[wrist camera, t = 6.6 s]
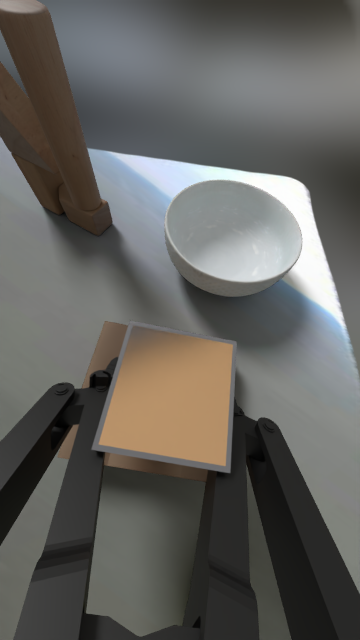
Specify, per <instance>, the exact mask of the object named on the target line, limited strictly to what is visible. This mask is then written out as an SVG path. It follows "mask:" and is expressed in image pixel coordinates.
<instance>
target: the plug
mask: <svg viewBox="0 0 360 640" xmlns="http://www.w3.org/2000/svg"><path fill="white" fill-rule="evenodd" d="M236 350H237V341H232V340H227V339H222V338H217V337H212V336H207V335H201V334H196V333H191V332H186V331H181V330H176V329H171V328H166V327H161V326H156V325H151V324H146V323H141V322H136V321H131V320H130V321H129V324H128V328H127V331H126V334H125V338H124V341H123V345H122V348H121V351H120V355H119V358H118V361H117V365H116V368H115V372H114V375H113V378H112V382H111V385H110V388H109V392H108V395H107V399H106V402H105V405H104V409H103V412H102V415H101V419H100V422H99V426H98V429H97V432H96V436H95V439H94V442H93V446H92V449H91V450H96V451H102V452H108V453H114V454H120V455H126V456H132V457H137V458H143V459H149V460H155V461H161V462H167V463H173V464H179V465H185V466H190V467H196V468H202V469H208V470H214V471H220V472H226V473H230V469H231V449H232V429H233V409H234V389H235V370H236Z"/></svg>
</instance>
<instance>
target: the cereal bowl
mask: <svg viewBox="0 0 360 640" xmlns="http://www.w3.org/2000/svg"><path fill="white" fill-rule="evenodd" d="M164 227H165V231H164V232H165V240H166V246H167V250H168V253H169V256H170V258H171V260H172V262H173V264H174V266H175V267H176V269H177V270H178V271H179V272H180V273H181V275H182V276H183V277H185V279H187V280H188V281H189V282H190V283H192V284H193V285H195V286H197V287H198V288H200V289H202V290H204V291H207V292H210V293H212V294H217V295H221V296H226V297H228V296H229V297H240V296H247V295H252V294H255V293H258V292H260V291H263V290H265V289H266V288H269V287H270V286H272V285H273V284H275V283H276V282H278V281H279V280H280V279H281V278H282V277H283V276H284V275H285V274H286V273H288V271H289V270H290V269H291V268H292V267H293V265H294V264H295V263H296V261H297V260H298V258H299V256H300V253H301V249H302V234H301V230H300V227H299V225H298V223H297V221H296V219H295V217H294V216H293V214H292V213H291V212H290V211H289V210H288V209H287V208H286V206H285V205H284V204H282V203H281V202H280V201H279V200H277V199H276V198H275V197H273V196H272V195H270V194H269V193H267V192H265V191H263V190H261V189H259V188H257V187H255V186H252V185H249V184H245V183H242V182H237V181H231V180H209V181H203V182H199V183H196V184H193V185H191V186H189V187H187V188H185V189H184V190H182V191H181V192H180V193H178V194H177V195H176V196H175V197H174V199H173V200H172V201H171V203H170V205H169V207H168V209H167V211H166V215H165V224H164Z"/></svg>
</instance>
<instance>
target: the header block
mask: <svg viewBox="0 0 360 640" xmlns="http://www.w3.org/2000/svg"><path fill="white" fill-rule="evenodd" d="M127 328H128V325H123V324H118V323H113V322H108V321H105V323H104V325H103V328H102V331H101V334H100V337H99V340H98V343H97V345H96V348H95V351H94V354H93V357H92V360H91V363H90V365H89V368H88V371H87V374H86V377H85V380H84V382H83V385H82V388H88V387H89V381H90V375H91V374H92V373H93V372H95V371H98V370H105V369H106V367H107V366H108V364H109V363H110V361H111V360H112V359H114V358H115V357H119V355H120V351H121V348H122V345H123V341H124V338H125V334H126V331H127ZM82 388H81V389H82ZM78 426H79V424H78V425H73V427H72V428H71V430H70V432H69V433H68V435H67V437H66V438H65V440H64V441H63V443H62V445H61V448H60V451H59V454H58V457H59V458H65V459H69V458H70V454H71V451H72V447H73V444H74V440H75V437H76V433H77V430H78ZM104 465H107V466H113V467H119V468H125V469H131V470H137V471H143V472H149V473H155V474H161V475H167V476H173V477H179V478H185V479H191V480H197V481H203V482H206V479H207V472H208V469H202V468H196V467H190V466H185V465H179V464H173V463H167V462H161V461H155V460H149V459H143V458H137V457H132V456H126V455H120V454H114V453H108V452H106V453H105V461H104Z"/></svg>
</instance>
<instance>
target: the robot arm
mask: <svg viewBox="0 0 360 640" xmlns="http://www.w3.org/2000/svg"><path fill="white" fill-rule="evenodd" d="M118 358H119V357H115V358H114V359H112V360H111V361H110V363H109V364H108V366H107V367H106V369H105V370H98V371H95V372H93V373H92V374H91V375H90V381H89V387H88V388H82V389H74V386H73V385H72V384H70V383H58V384H56V385H53V386H52V387H51V388H50V389H49V390H48V391H47V392H46V393H45V394H44V395H43V396H42V397H41V398H40V399H39V400H38V402H37V403H36V404H35V405H34V406H33V407H32V408H31V409H30V410H29V411H28V412H27V414H26V415H25V416H24V417H23V418H22V419H21V420H20V421H19V422H18V423H17V424H16V425H15V427H14V428H13V429H12V430H11V431H10V432H9V433H8V434H7V435H6V436H5V437H4V438H3V440H2V441H1V442H0V545H1V544H2V542H3V540H4V539H5V537H6V536H7V534H8V532H9V531H10V529H11V527H12V526H13V524H14V522H15V521H16V519H17V517H18V516H19V514H20V512H21V511H22V509H23V507H24V506H25V504H26V503H27V501H28V499H29V498H30V496H31V494H32V493H33V491H34V489H35V488H36V486H37V484H38V483H39V481H40V479H41V478H42V476H43V474H44V473H45V471H46V470H47V468H48V466H49V465H50V463H51V461H52V460H53V458H54V456H55V455H56V453H57V451H58V450H59V448H60V446H61V445H62V443H63V441H64V440H65V438H66V437H67V435H68V433H69V432H70V430H71V428H72V427H73V425H78V424H79V426H78V430H77V433H76V437H75V440H74V444H73V447H72V451H71V454H70V458H69V462H68V465H67V469H66V472H65V476H64V479H63V483H62V486H61V490H60V494H59V497H58V501H57V504H56V508H55V511H54V515H53V519H52V522H51V526H50V529H49V533H48V536H47V540H46V543H45V547H44V550H43V553H42V556H41V557H40V559H39V561H38V562H37V564H36V567H35V569H34V572H33V575H32V579H31V582H30V585H29V588H28V592H27V595H26V599H25V602H24V605H23V609H22V612H21V616H20V619H19V622H18V626H17V629H16V633H15V636H14V639H13V640H259V626H258V610H257V601H256V596H255V592H254V591H253V589H252V587H251V584H250V575H249V543H248V511H247V479H246V464H247V467H248V471H249V475H250V479H251V483H252V487H253V491H254V495H255V499H256V502H257V506H258V510H259V514H260V518H261V522H262V526H263V530H264V534H265V537H266V541H267V545H268V549H269V553H270V557H271V561H272V565H273V569H274V572H275V576H276V580H277V584H278V588H279V592H280V596H281V600H282V604H283V607H284V611H285V615H286V619H287V623H288V627H289V631H290V635H291V639H292V640H360V594H359V592H358V590H357V588H356V586H355V584H354V582H353V580H352V577H351V575H350V573H349V571H348V569H347V567H346V565H345V563H344V561H343V559H342V557H341V555H340V553H339V551H338V549H337V546H336V544H335V542H334V540H333V538H332V536H331V534H330V532H329V530H328V528H327V526H326V524H325V522H324V520H323V518H322V516H321V513H320V511H319V509H318V507H317V505H316V503H315V501H314V499H313V497H312V495H311V493H310V491H309V489H308V487H307V485H306V482H305V480H304V478H303V476H302V474H301V472H300V470H299V468H298V466H297V464H296V462H295V460H294V458H293V456H292V454H291V451H290V449H289V447H288V445H287V443H286V441H285V439H284V437H283V435H282V433H281V431H280V429H279V427H278V426H277V425H276V424H275V423H274V422H273V421H271V420H270V419H267V418H259V419H258V421H255V420H253V419H251V418H248V417H247V416H245V415H244V412H243V411H242V409H241V408H240V407H238V406H237V403H236V400H235V397H234V409H233V429H232V449H231V469H230V473H226V472H220V471H214V470H208V472H207V479H206V486H205V493H204V500H203V506H202V513H201V520H200V527H199V534H198V540H197V547H196V554H195V561H194V568H193V574H192V581H191V588H190V594H189V598H188V602H187V606H186V610H185V615H184V620H183V626H177V625H173V626H170V627H168V628H165V629H162V630H159V631H157V632H154V633H151V634H148V635H146V636H143V637H139V636H136V635H135V634H133V633H132V632H131V631H129V630H128V629H126V628H125V627H123V626H122V625H120V624H119V623H117V622H116V621H114V620H113V619H111V618H110V617H108V616H100V615H93V614H86V608H87V599H88V590H89V581H90V573H91V565H92V557H93V549H94V541H95V533H96V525H97V517H98V509H99V501H100V493H101V485H102V477H103V469H104V461H105V453H106V452H102V451H96V450H91V449H92V446H93V442H94V439H95V436H96V432H97V429H98V426H99V422H100V419H101V415H102V412H103V409H104V405H105V402H106V399H107V395H108V392H109V388H110V385H111V382H112V378H113V375H114V372H115V368H116V365H117V361H118Z"/></svg>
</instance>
